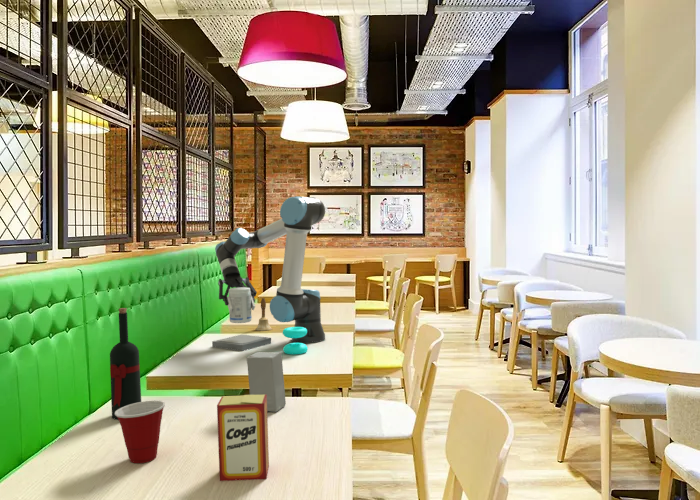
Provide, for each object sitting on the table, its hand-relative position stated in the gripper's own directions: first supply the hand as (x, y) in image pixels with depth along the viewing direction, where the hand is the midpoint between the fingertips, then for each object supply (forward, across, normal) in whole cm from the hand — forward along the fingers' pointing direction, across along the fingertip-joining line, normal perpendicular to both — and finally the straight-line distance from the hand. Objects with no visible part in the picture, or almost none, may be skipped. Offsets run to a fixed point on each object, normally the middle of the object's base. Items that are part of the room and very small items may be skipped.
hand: (242, 309), depth 260 cm
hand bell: (-13, -23, -37) cm, 45 cm away
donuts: (+29, -13, +6) cm, 33 cm away
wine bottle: (+64, +60, +42) cm, 98 cm away
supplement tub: (+2, 0, -7) cm, 7 cm away
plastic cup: (+89, +62, +66) cm, 127 cm away
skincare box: (+75, +24, +53) cm, 95 cm away
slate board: (+10, 0, -13) cm, 16 cm away
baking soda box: (+103, +44, +81) cm, 138 cm away
